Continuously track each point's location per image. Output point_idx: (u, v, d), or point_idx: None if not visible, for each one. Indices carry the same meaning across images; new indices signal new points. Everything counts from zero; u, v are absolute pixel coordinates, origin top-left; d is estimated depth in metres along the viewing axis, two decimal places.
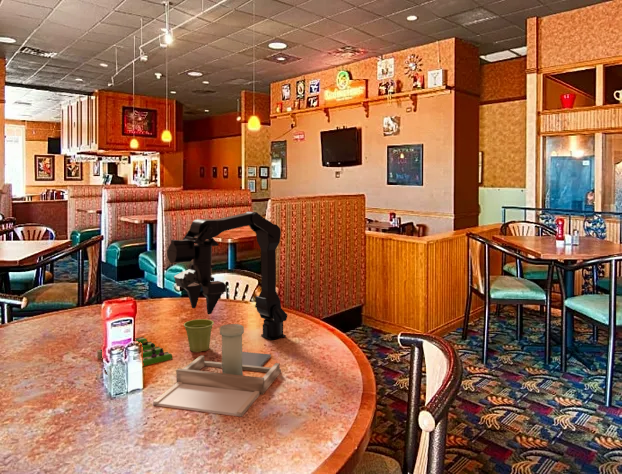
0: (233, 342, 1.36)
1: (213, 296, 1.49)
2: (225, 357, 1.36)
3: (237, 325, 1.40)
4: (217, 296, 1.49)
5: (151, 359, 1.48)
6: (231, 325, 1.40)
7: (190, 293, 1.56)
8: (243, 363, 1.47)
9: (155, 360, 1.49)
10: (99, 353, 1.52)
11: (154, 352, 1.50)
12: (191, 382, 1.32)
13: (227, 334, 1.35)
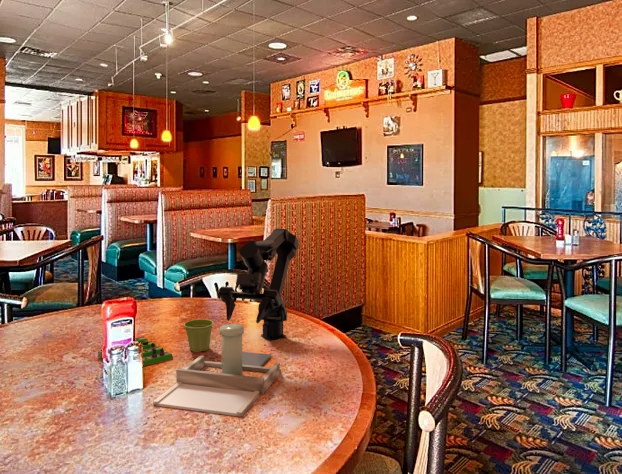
0: (233, 342, 1.36)
1: (265, 307, 1.48)
2: (225, 357, 1.36)
3: (237, 325, 1.40)
4: (268, 309, 1.49)
5: (151, 359, 1.48)
6: (231, 325, 1.40)
7: (230, 304, 1.49)
8: (243, 363, 1.47)
9: (155, 360, 1.49)
10: (99, 353, 1.52)
11: (154, 352, 1.50)
12: (191, 382, 1.32)
13: (227, 334, 1.35)
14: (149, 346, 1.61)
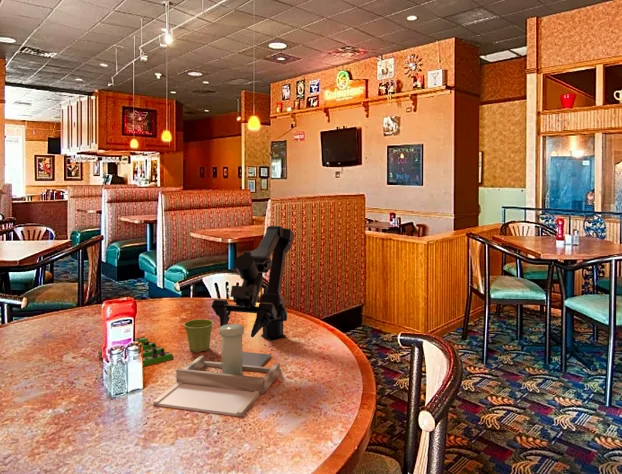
0: (233, 342, 1.36)
1: (261, 320, 1.44)
2: (225, 357, 1.36)
3: (237, 325, 1.40)
4: (263, 322, 1.44)
5: (152, 359, 1.49)
6: (231, 325, 1.40)
7: (224, 317, 1.45)
8: (243, 363, 1.47)
9: (156, 360, 1.49)
10: (100, 353, 1.52)
11: (155, 352, 1.50)
12: (191, 382, 1.32)
13: (227, 334, 1.35)
14: (150, 346, 1.61)
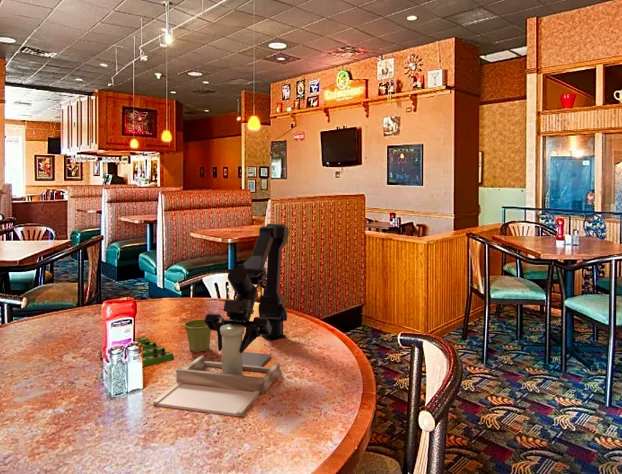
0: (234, 342, 1.36)
1: (250, 335, 1.40)
2: (225, 357, 1.36)
3: (237, 325, 1.40)
4: (253, 337, 1.41)
5: (153, 359, 1.49)
6: (231, 325, 1.40)
7: None
8: (243, 363, 1.47)
9: (157, 360, 1.49)
10: (101, 353, 1.52)
11: (156, 352, 1.50)
12: (191, 382, 1.32)
13: (227, 334, 1.35)
14: (151, 346, 1.61)
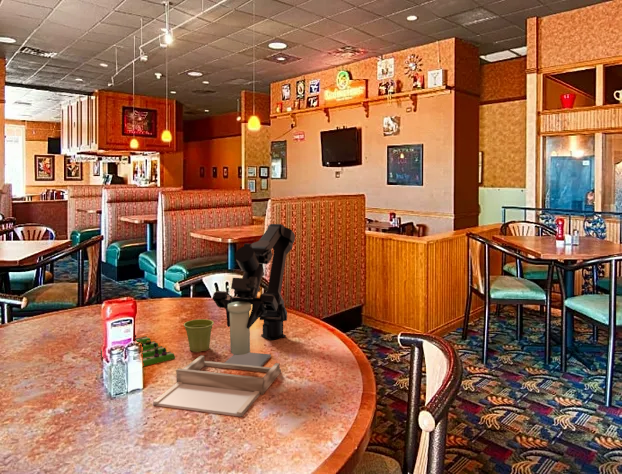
0: (241, 319, 1.40)
1: (256, 311, 1.45)
2: (233, 333, 1.41)
3: (244, 302, 1.44)
4: (259, 313, 1.45)
5: (153, 359, 1.49)
6: (238, 302, 1.44)
7: None
8: (243, 363, 1.47)
9: (157, 360, 1.49)
10: None
11: (157, 352, 1.50)
12: (191, 382, 1.32)
13: (235, 311, 1.39)
14: (152, 346, 1.61)
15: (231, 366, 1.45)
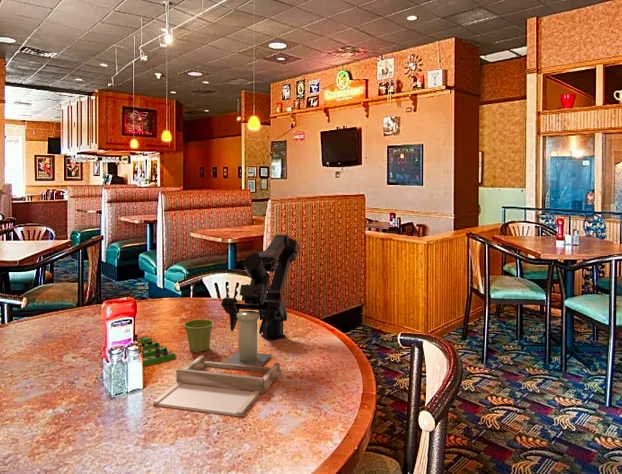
0: (249, 327, 1.47)
1: (268, 318, 1.50)
2: (241, 340, 1.47)
3: (253, 311, 1.51)
4: (271, 319, 1.51)
5: (155, 358, 1.49)
6: (247, 311, 1.51)
7: (233, 315, 1.51)
8: (243, 363, 1.47)
9: (159, 359, 1.49)
10: None
11: (158, 351, 1.50)
12: (191, 382, 1.32)
13: (244, 319, 1.46)
14: (153, 346, 1.61)
15: (231, 366, 1.45)
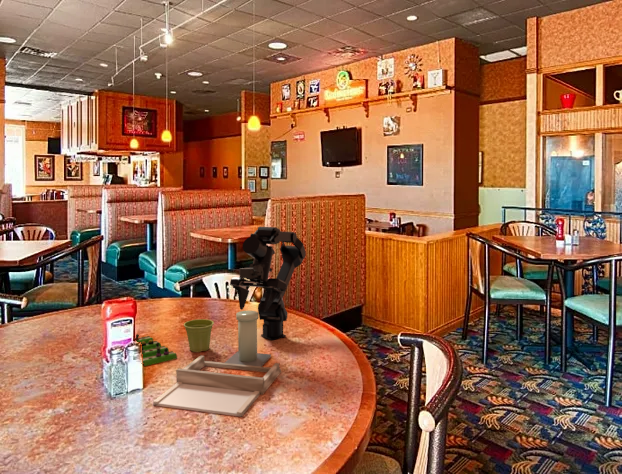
0: (249, 327, 1.47)
1: (272, 294, 1.57)
2: (241, 340, 1.47)
3: (252, 311, 1.51)
4: (275, 295, 1.58)
5: (156, 358, 1.49)
6: (246, 311, 1.51)
7: (241, 294, 1.61)
8: (243, 363, 1.47)
9: (160, 359, 1.49)
10: None
11: (159, 351, 1.51)
12: (191, 382, 1.32)
13: (243, 319, 1.46)
14: (154, 345, 1.61)
15: (231, 366, 1.45)
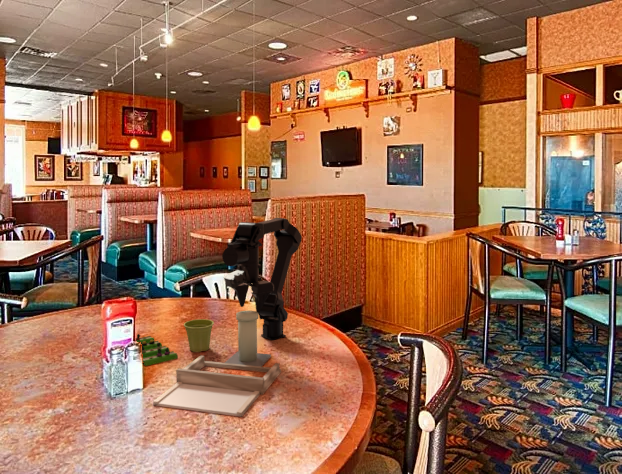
0: (249, 327, 1.47)
1: (261, 295, 1.56)
2: (241, 340, 1.47)
3: (252, 311, 1.51)
4: (265, 295, 1.56)
5: (156, 358, 1.49)
6: (246, 311, 1.51)
7: (238, 292, 1.63)
8: (243, 363, 1.47)
9: (160, 359, 1.49)
10: None
11: (160, 351, 1.51)
12: (191, 382, 1.32)
13: (243, 319, 1.46)
14: (155, 345, 1.61)
15: (231, 366, 1.45)
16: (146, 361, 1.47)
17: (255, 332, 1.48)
